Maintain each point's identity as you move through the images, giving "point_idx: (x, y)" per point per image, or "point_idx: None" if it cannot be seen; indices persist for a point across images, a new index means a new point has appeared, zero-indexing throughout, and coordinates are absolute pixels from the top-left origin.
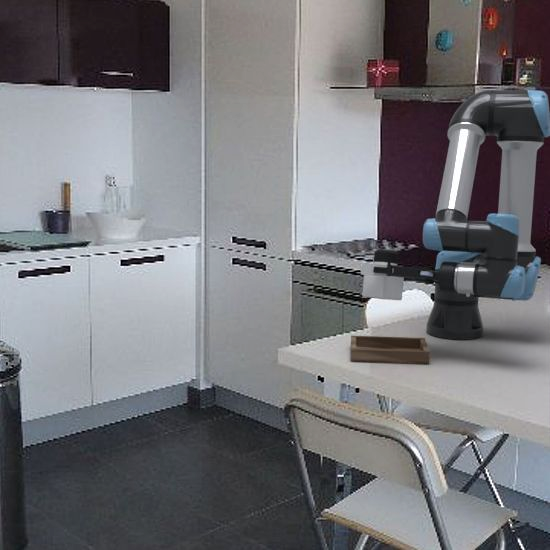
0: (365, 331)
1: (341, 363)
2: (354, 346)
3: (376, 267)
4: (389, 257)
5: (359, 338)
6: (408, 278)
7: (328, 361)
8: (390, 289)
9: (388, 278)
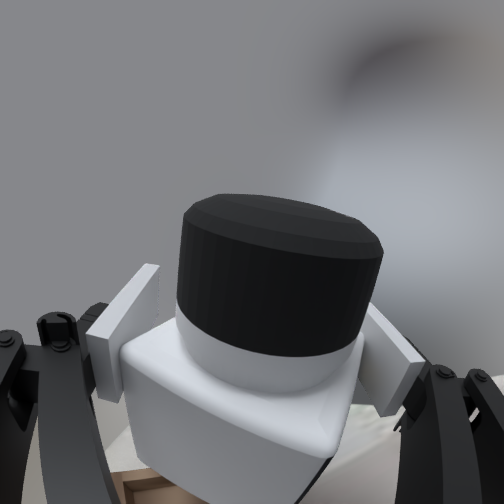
0: (402, 414)
1: None
2: (138, 475)
3: (89, 313)
4: (188, 271)
5: None
6: (404, 471)
7: (116, 450)
8: (179, 468)
9: (153, 417)
